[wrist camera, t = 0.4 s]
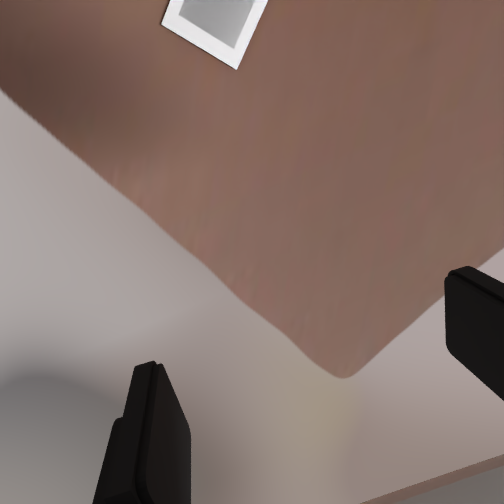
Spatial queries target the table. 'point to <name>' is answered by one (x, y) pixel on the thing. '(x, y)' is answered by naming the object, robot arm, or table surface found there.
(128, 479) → the robot arm
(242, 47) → the touchpad
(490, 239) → the table surface
